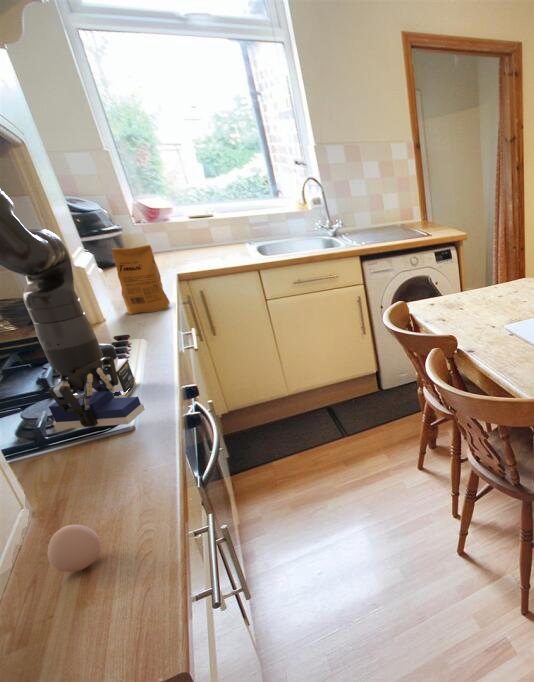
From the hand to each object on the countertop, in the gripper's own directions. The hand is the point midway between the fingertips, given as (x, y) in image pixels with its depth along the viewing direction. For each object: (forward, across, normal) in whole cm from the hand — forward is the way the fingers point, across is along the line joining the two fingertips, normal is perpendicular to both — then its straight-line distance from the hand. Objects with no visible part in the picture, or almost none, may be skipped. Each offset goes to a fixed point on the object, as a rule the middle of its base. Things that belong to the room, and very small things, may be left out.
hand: (101, 417), depth 93 cm
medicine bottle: (+4, +17, +9) cm, 20 cm away
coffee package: (+4, +81, +36) cm, 89 cm away
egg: (+4, -35, -18) cm, 40 cm away
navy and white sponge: (0, 0, 0) cm, 0 cm away
